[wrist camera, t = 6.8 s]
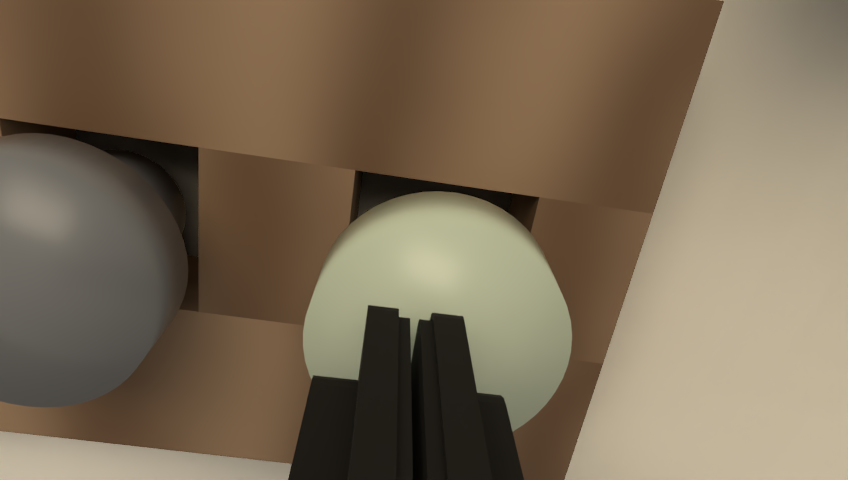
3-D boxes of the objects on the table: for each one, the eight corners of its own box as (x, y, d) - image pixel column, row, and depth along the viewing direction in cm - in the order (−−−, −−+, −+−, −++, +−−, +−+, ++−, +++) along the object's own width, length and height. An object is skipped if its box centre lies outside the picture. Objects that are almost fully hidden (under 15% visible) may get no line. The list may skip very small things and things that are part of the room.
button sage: (550, 169, 15) (604, 246, 10) (507, 341, 17) (537, 464, 13) (345, 138, 14) (313, 205, 10) (327, 318, 16) (294, 436, 12)
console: (668, -3, 15) (724, 0, 12) (540, 425, 20) (559, 493, 18) (-437, -193, 13) (-663, -239, 10) (-249, 330, 19) (-364, 389, 16)
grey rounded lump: (230, 122, 14) (148, 182, 10) (226, 305, 16) (157, 421, 12) (9, 89, 14) (-174, 136, 10) (34, 281, 16) (-108, 390, 12)
